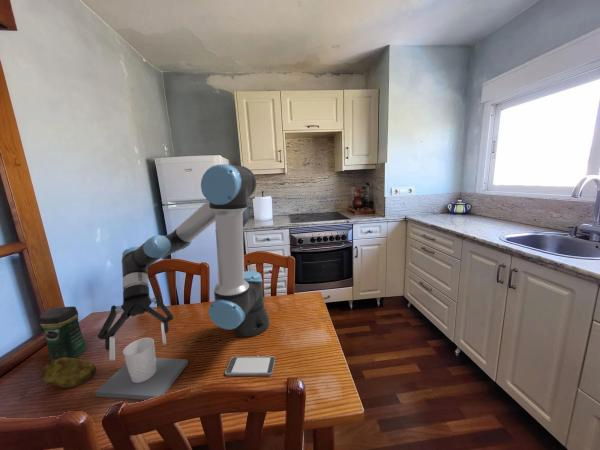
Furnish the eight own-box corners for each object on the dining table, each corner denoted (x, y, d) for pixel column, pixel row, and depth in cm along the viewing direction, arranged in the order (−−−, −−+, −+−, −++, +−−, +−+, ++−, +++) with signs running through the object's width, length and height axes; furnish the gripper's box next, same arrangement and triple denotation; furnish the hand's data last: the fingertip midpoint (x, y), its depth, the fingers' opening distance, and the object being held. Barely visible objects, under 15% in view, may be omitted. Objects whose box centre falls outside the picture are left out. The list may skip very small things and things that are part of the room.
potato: (75, 395, 70) (68, 372, 69) (38, 392, 72) (32, 368, 71) (101, 373, 79) (96, 351, 77) (68, 370, 80) (63, 349, 79)
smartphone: (231, 356, 82) (275, 356, 81) (232, 359, 82) (275, 359, 82) (224, 373, 75) (271, 373, 74) (224, 376, 75) (272, 376, 74)
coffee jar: (91, 347, 92) (81, 302, 88) (71, 362, 84) (59, 314, 80) (67, 347, 92) (55, 303, 88) (45, 363, 84) (31, 315, 81)
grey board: (187, 363, 81) (187, 359, 81) (159, 401, 67) (158, 396, 67) (134, 360, 84) (133, 356, 83) (96, 396, 70) (95, 391, 70)
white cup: (138, 366, 79) (133, 338, 77) (163, 363, 79) (158, 336, 77) (123, 386, 71) (116, 356, 69) (150, 383, 72) (145, 353, 70)
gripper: (176, 283, 93) (184, 340, 83) (94, 302, 81) (92, 370, 71) (174, 275, 87) (183, 334, 77) (86, 293, 76) (82, 366, 66)
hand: (139, 351), depth 74 cm, fingers open, 13 cm apart
